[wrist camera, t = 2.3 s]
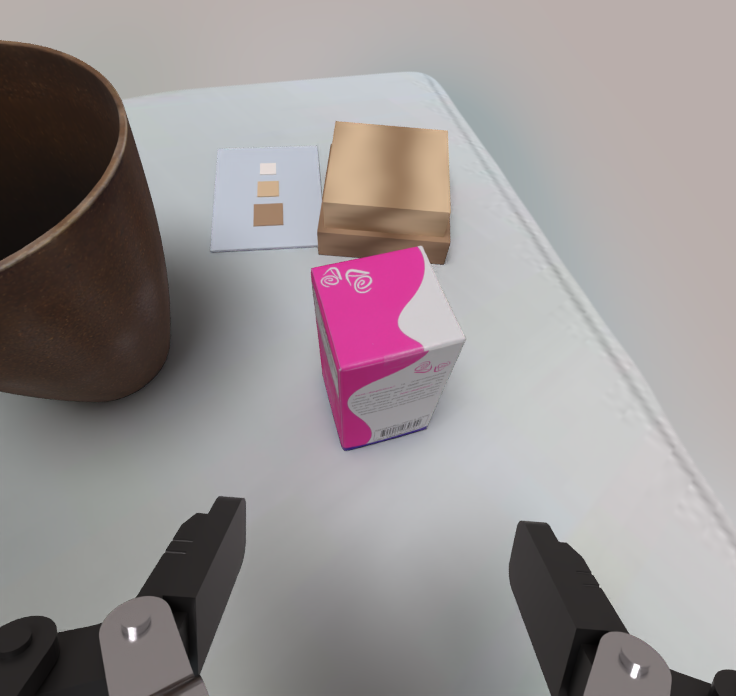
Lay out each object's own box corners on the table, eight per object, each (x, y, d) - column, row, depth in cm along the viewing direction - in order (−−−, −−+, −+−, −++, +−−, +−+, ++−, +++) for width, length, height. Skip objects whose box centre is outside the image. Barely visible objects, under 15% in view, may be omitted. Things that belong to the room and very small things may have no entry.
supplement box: (399, 352, 31) (426, 240, 21) (428, 430, 29) (473, 345, 19) (319, 371, 30) (308, 263, 20) (341, 453, 28) (340, 377, 18)
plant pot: (-48, 465, 26) (-497, 324, 12) (31, 266, 33) (-196, 32, 19) (209, 456, 27) (67, 316, 13) (233, 265, 34) (157, 41, 20)
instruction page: (211, 252, 35) (209, 249, 34) (218, 150, 40) (217, 147, 40) (325, 246, 36) (325, 243, 35) (317, 147, 41) (317, 144, 41)
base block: (318, 254, 35) (314, 206, 31) (331, 168, 40) (330, 116, 36) (443, 264, 35) (457, 218, 31) (441, 177, 40) (453, 127, 36)
